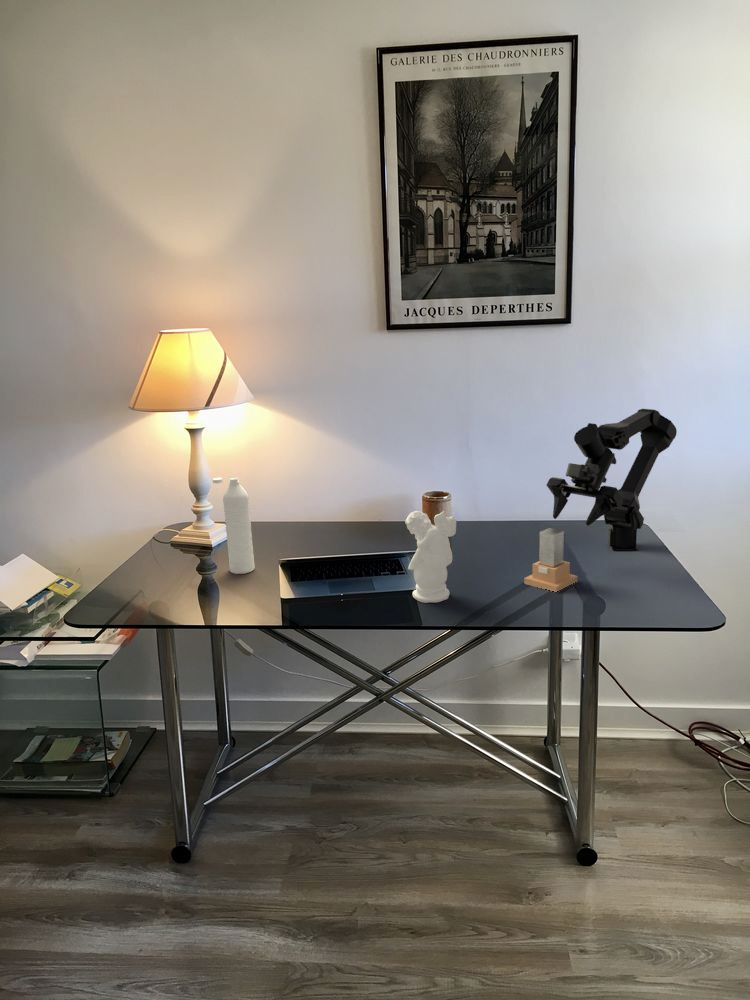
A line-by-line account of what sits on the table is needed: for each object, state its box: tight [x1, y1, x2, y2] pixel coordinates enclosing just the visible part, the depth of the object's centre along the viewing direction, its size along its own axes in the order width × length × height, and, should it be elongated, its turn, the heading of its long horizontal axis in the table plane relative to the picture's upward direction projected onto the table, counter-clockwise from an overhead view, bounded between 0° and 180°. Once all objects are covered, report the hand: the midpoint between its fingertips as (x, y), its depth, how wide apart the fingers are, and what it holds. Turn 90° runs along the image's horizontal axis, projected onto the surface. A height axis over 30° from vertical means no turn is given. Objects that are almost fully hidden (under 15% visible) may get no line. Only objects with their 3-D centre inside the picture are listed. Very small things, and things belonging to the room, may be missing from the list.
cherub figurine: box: [404, 510, 457, 604], centre depth 184 cm, size 12×12×22 cm
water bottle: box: [212, 477, 256, 575], centre depth 206 cm, size 9×6×25 cm
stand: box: [523, 560, 579, 593], centre depth 190 cm, size 9×9×5 cm
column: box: [538, 527, 565, 568], centre depth 189 cm, size 4×4×11 cm
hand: (570, 521), depth 192 cm, fingers open, 9 cm apart
